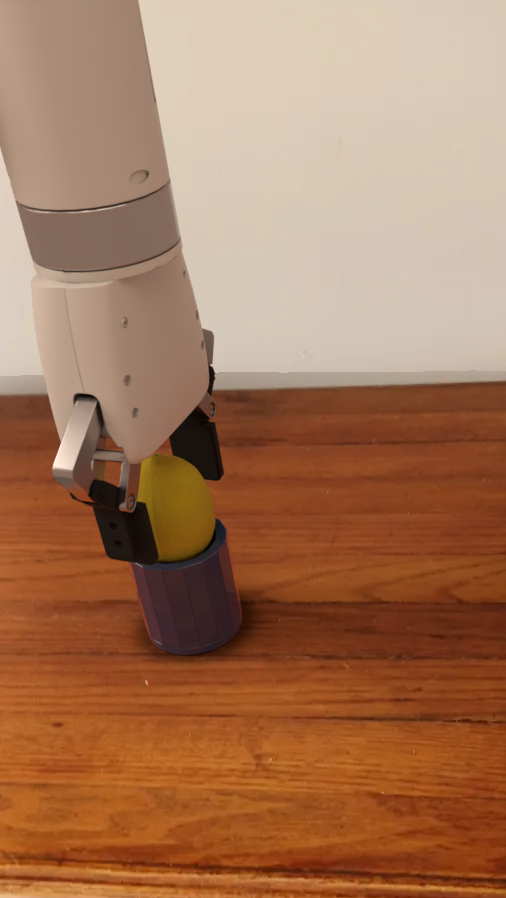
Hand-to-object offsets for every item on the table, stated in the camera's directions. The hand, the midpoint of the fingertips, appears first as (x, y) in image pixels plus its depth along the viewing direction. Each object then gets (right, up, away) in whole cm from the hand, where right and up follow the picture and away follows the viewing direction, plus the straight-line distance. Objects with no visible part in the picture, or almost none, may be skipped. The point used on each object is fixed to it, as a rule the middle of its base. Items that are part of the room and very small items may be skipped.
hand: (168, 515), depth 59 cm
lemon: (0, -3, +3) cm, 4 cm away
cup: (+1, -7, +6) cm, 9 cm away
